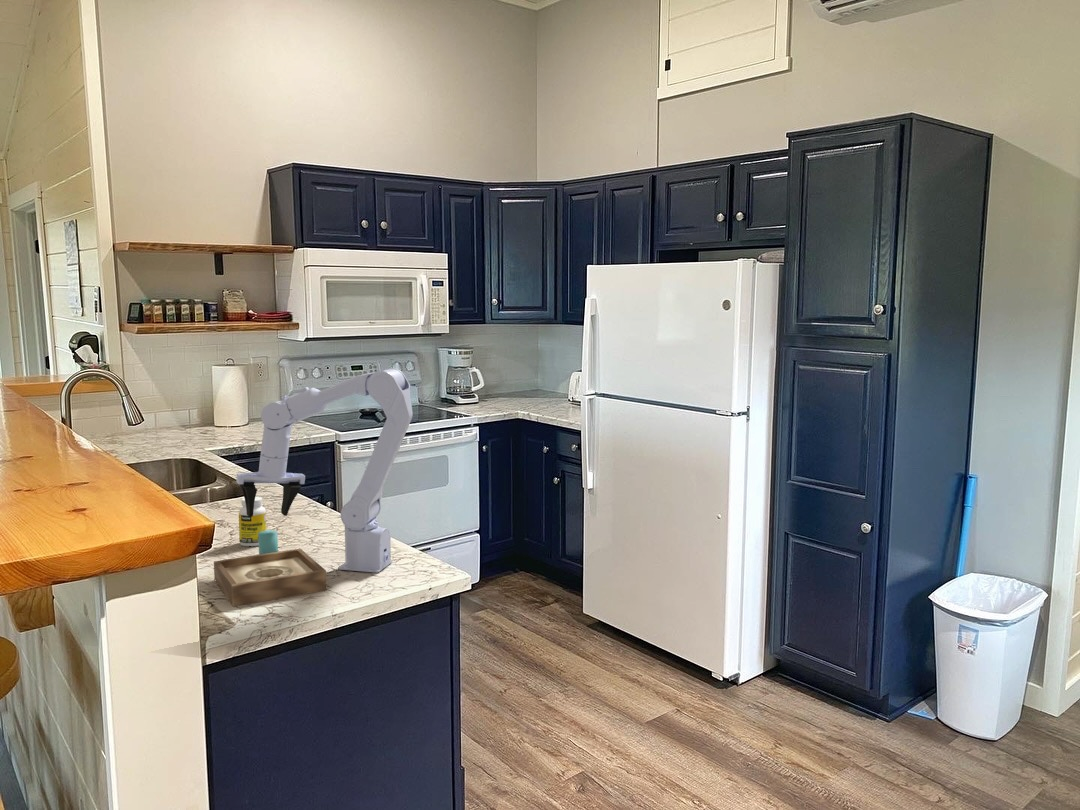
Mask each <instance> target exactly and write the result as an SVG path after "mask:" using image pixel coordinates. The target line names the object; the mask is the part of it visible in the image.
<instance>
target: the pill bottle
mask: <svg viewBox="0 0 1080 810" xmlns="http://www.w3.org/2000/svg"><path fill="white" fill-rule="evenodd" d="M262 505H263V498H262V497H261V496H255V501H254V511H253V517H249V516H248V515H247V510H246V503H245V498H244V497H243V498H241V506H242V507H240V509H239V510H238V537H239V542H238V543H239V545H240V546H243V547H249V546H251V547H259V538H258V533H259V532H261V531H266V530H267V511H266V508H265V506H262Z"/></svg>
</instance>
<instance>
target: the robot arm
mask: <svg viewBox="0 0 1080 810" xmlns="http://www.w3.org/2000/svg"><path fill="white" fill-rule="evenodd" d="M356 394H359V395H362V396H365V397H367V396H370V397H371V398H372V399H373V400H374V401H375V402H376V403H377V404H378V405H379V406H380V407H381V409H382V411H383V412H384V415H385V416H386V420H385V422H384V424H383V426H382V429H381V432H380V433H379V436H378V439H377V441H376V444H375V446H374V447H373V451H372V452H371V456H370V458H369V460H368V463H367V465H366V467H365V470H364V472H363V475H362V477H361V479H360V481H359V484H358V485H357V487H356V488H355V490H354V492H353V493H352V495H351V498H350V499H349V500H348V501H347V502H346V503H345V504H344V505H343V506H342V507H341V510H340V520H341V522H342V524H343V525H344V554H345V555H344V557H345V562H344V563H342V564H341V565H339V566H338V567H337V569H338V570H341V571H342V570H343V571H353V572H354V571H355V572H364V573H376V574H377V573H379V572H381V571H382V570H384V569H385V568H387V567H388V566H389V565H391V564H392V563H393V560H392V557H391V555H392V553H391V551H392V549H391V532H390V530H389V529H388V528H385V527H381V526H379V521H378V519H377V517H378V515H379V514H380V512H381V509H382V508H381V507H382V503H381V500H382V498H383V497H382V496H383V495H384V494H383V493H384V491H383V488H384V487H385V483H386V480H387V478H388V477H389V473H390V471H391V469H392V467H393V464H394V462H395V460H396V457H397V454H398V452H399V451H400V447H401V445H402V443H403V441H404V438H405V436H406V433H407V431H408V429H409V426H410V423H411V421H412V419H413V413H414V412H413V405H412V400H411V399H412V397H411V383H410V382H409V380H408V379H407V377H406V376H405V373H404V372H403V371H401V370H400V369H398V368H396V367H390V368H386V369H385V370H378V371H373V372H369V373H368V372H367V373H364V374H363V373H362V374H360V375H359V374H358V375H356V376H354V377H351V378H349V379H346V380H343V381H341V382H339V383H337V384H335V385H332V386H330V387H327V388H325V389H323V390H320V389H318V388H316V387H311V388H309V387H308V386H306V387H303V388H301V389H300V392H297V393H295V394H292V395H290V396H288V395H284V396H281V400H278V401H271V402H269V403H268V404H266V405H265V406H263V408H262V409H261V413H260V419H261V421H262V424H263V431H262V439H261V449H260V456H259V467H258V471H255V472H254V471H253V472H252V471H251V472H243V473H236V482H235V483H236V484H238V485H239V488H240V489H241V491H242V495H243V498H245V503H246V510H247V515H248V516H249V517H253V511H254V501H255V497H257V492H258V489H257V488H256V484H282V500H281V508H280V509H281V510H280V512H281V515H283V517H287V516H288V513H289V511H290V509H291V507H292V504H293V502H294V501H295V499H296V497H297V495H298V494H299V493H300V492H301V490H302V486H301V485H305V481H306V475H305V474H303V473H296V472H294V473H293V472H287V467H288V466H287V465H288V459H289V458H288V457H289V451H290V441H291V431H292V425H293V424H295V423H298V422H300V421H303V420H306V419H308V418H311V417H314V416H316V415H319V414H321V413H323V412H324V411H325V409H326V407H327V405H328V404H331V403H333V402H335V401H339V400H342V399H344V398H347V397H351V396H353V395H356Z"/></svg>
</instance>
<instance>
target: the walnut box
mask: <svg viewBox="0 0 1080 810" xmlns="http://www.w3.org/2000/svg"><path fill="white" fill-rule="evenodd" d="M213 574H214V575H213V577H214V581H215V580H216V581H215V583H216V582H217V583H218V584H217V583H216V584H217V586H218V585H219V586H218V587H219V589H220V591H222V593H223V594H224V596H225V597H226V598H227V599H228V601H229V602H230V604H231V606H232V607H238V606H245V605H248V604H249V605H251V604H255V603H261V602H266V601H267V602H268V601H273V600H277V599H279V600H280V599H283V598H284V599H285V598H289V597H294V596H300V595H306V594H311V593H316V592H322V591H327V590H328V589H327V585H328V584H327V570H326V569H325V568H324V567H323V566H322V565H320V564H319V563H318V562H317V561H316V560H315V559H313V557H311V556H310V555H309V554H308V553H306V551H304V550H303V549H302V548H295V549H289V550H288V549H287V550H282V551H278V552H274V553H267V554H260V555H259V554H254V555H247V556H241V557H235V558H234V557H233V558H228V559H227V558H225V559H220V560H215V561H213Z"/></svg>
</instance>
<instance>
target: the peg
mask: <svg viewBox="0 0 1080 810" xmlns="http://www.w3.org/2000/svg"><path fill="white" fill-rule="evenodd" d="M258 538H259V546H258V555H260V554H267V553H274V552H279V546H278V545H279V544H278V543H279V539H278V531H277V530H274V529H266V531H261V532H259V533H258Z"/></svg>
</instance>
